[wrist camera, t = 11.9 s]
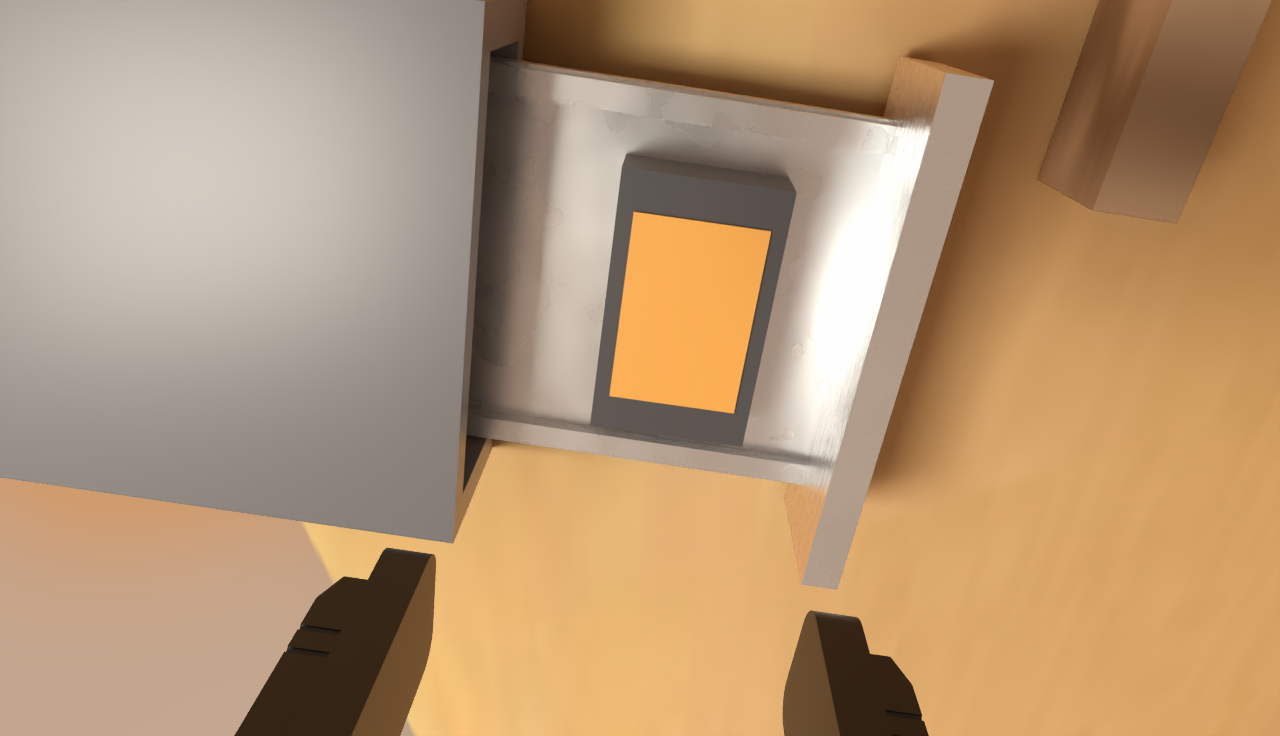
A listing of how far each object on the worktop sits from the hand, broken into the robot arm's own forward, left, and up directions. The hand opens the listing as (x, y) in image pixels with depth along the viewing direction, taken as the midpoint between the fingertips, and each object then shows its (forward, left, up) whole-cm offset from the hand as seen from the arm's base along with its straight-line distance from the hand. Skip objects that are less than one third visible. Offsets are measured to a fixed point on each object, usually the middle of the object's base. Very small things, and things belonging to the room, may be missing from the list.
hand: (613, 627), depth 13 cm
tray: (0, 0, -17) cm, 17 cm away
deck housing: (0, -13, -18) cm, 22 cm away
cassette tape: (0, +1, -16) cm, 16 cm away
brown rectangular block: (-8, +13, -18) cm, 23 cm away
